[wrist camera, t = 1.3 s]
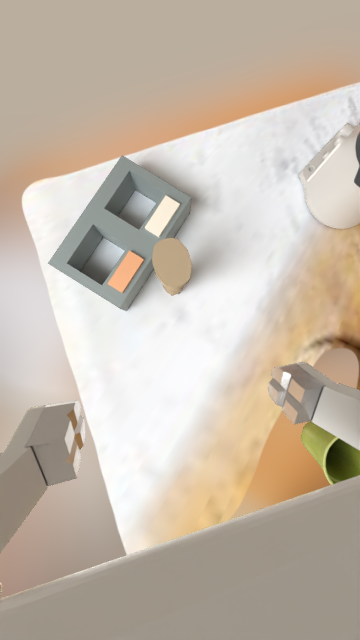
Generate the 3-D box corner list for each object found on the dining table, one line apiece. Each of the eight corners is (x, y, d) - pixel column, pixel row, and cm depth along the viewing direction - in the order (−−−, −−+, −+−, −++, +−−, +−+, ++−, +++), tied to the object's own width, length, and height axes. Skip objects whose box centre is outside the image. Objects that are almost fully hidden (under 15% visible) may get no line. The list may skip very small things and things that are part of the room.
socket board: (128, 176, 42) (121, 152, 37) (189, 213, 42) (191, 195, 36) (63, 271, 41) (45, 262, 35) (126, 311, 41) (118, 307, 35)
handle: (180, 269, 41) (182, 233, 26) (189, 299, 41) (197, 280, 26) (157, 276, 41) (146, 243, 26) (166, 306, 41) (160, 290, 26)
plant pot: (283, 425, 40) (312, 451, 31) (323, 402, 40) (364, 421, 31) (307, 469, 39) (344, 508, 31) (348, 445, 40) (396, 476, 31)
